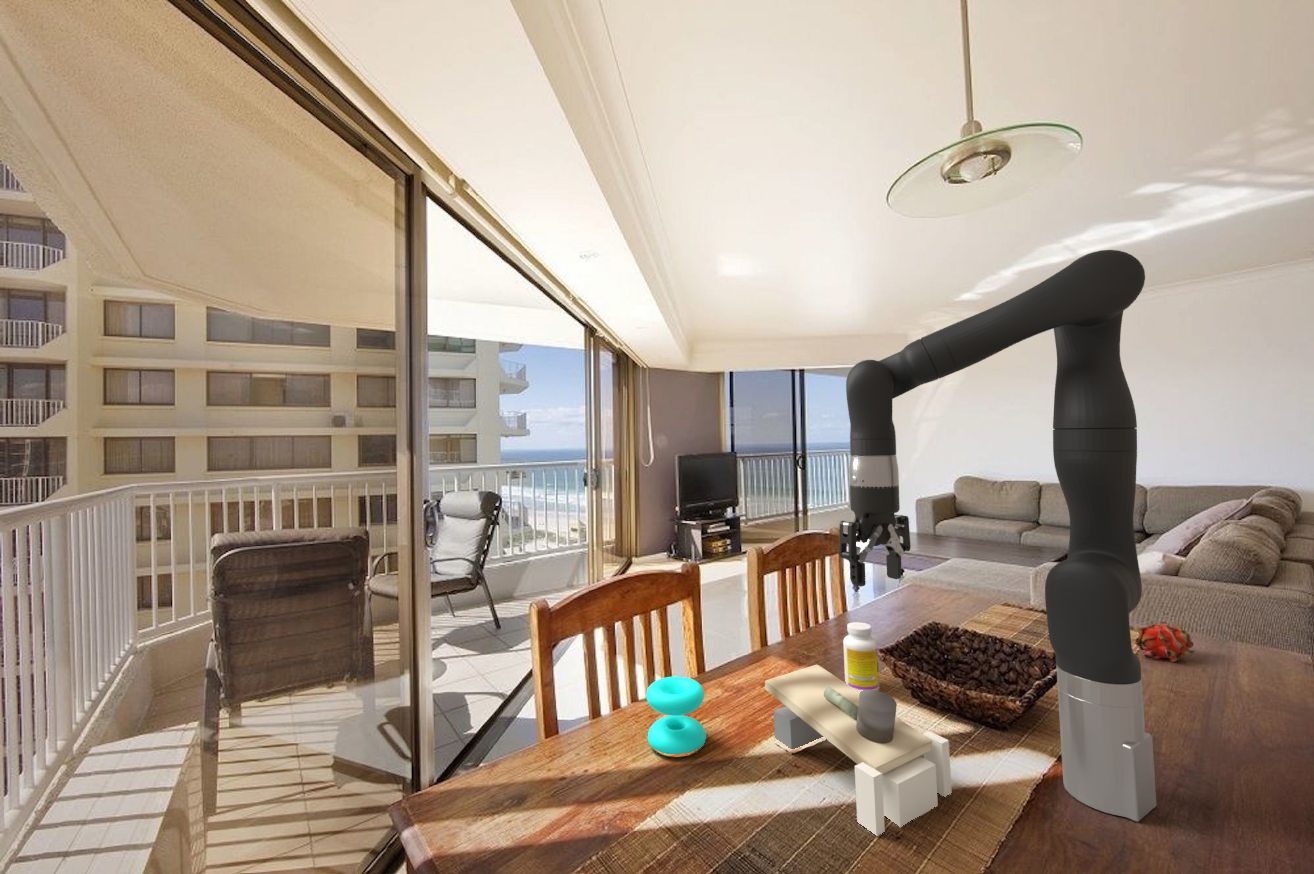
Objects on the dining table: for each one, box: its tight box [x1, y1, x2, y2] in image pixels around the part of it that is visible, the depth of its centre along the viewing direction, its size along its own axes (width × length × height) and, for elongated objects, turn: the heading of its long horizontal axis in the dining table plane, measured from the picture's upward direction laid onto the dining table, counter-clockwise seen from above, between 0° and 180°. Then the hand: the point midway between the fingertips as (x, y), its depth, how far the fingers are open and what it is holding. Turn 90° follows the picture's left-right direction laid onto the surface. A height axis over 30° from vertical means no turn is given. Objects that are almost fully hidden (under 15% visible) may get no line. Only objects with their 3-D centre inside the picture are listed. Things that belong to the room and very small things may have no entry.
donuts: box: [645, 676, 707, 754], centre depth 91 cm, size 10×10×10 cm
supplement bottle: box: [842, 621, 880, 690], centre depth 110 cm, size 7×7×13 cm
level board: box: [764, 664, 932, 774], centre depth 82 cm, size 22×12×6 cm, turn 29°
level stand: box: [773, 705, 953, 837], centre depth 82 cm, size 24×16×8 cm, turn 29°
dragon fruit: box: [1135, 621, 1195, 663], centre depth 119 cm, size 8×8×12 cm
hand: (876, 581), depth 87 cm, fingers open, 8 cm apart
